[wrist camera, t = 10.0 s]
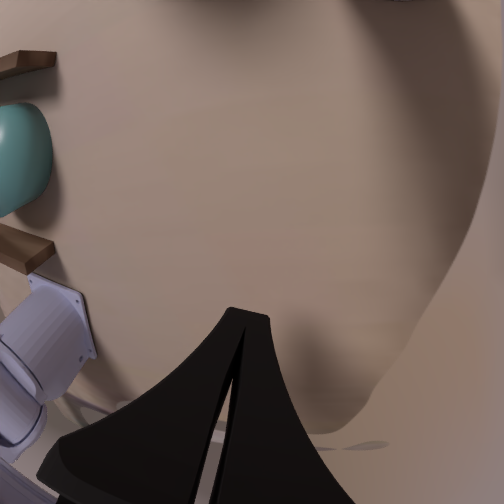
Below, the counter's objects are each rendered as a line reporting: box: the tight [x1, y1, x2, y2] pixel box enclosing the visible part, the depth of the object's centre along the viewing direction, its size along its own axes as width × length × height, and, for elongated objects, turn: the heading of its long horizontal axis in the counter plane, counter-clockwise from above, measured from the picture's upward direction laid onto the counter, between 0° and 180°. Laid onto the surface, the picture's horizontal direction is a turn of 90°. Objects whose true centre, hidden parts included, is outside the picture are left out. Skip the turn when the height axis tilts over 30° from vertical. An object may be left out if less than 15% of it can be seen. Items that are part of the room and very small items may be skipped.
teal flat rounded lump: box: [0, 102, 52, 217], centre depth 16 cm, size 9×9×4 cm
